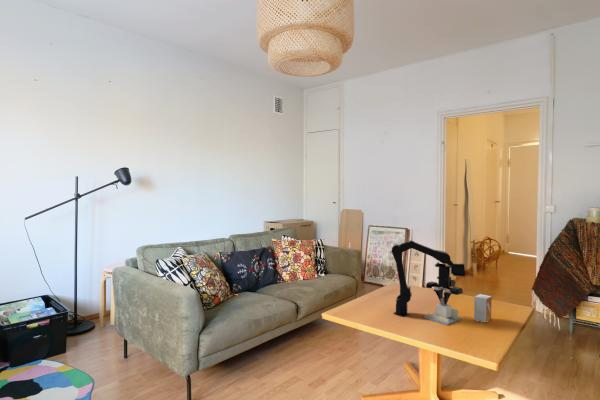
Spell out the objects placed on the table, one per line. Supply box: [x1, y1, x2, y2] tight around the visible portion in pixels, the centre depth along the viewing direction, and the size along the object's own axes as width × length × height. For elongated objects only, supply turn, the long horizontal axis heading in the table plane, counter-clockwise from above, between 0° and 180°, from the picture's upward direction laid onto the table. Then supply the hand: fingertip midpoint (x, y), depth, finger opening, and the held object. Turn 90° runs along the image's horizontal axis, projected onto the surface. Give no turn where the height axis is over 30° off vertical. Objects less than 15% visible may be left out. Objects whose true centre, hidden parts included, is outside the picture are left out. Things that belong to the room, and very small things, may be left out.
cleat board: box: [423, 307, 462, 326], centre depth 194 cm, size 14×14×6 cm
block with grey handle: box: [435, 296, 452, 318], centre depth 195 cm, size 5×6×10 cm
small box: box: [473, 293, 493, 323], centre depth 193 cm, size 8×6×13 cm
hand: (443, 303), depth 195 cm, fingers open, 2 cm apart
